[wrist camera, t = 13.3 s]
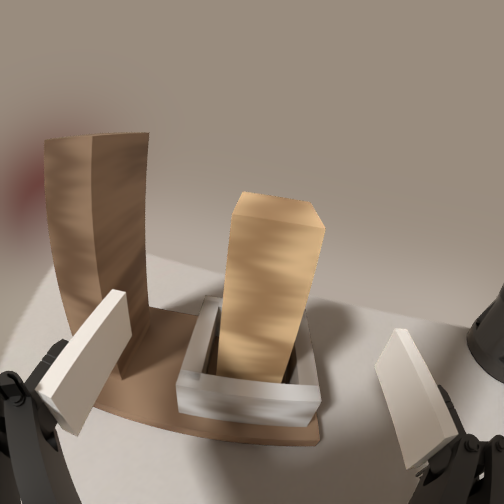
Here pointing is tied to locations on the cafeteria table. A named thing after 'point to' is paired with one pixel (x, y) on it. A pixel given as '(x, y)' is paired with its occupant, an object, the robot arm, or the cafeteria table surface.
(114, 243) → the wooden peg insertion stand
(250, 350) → the block
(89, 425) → the cafeteria table surface
